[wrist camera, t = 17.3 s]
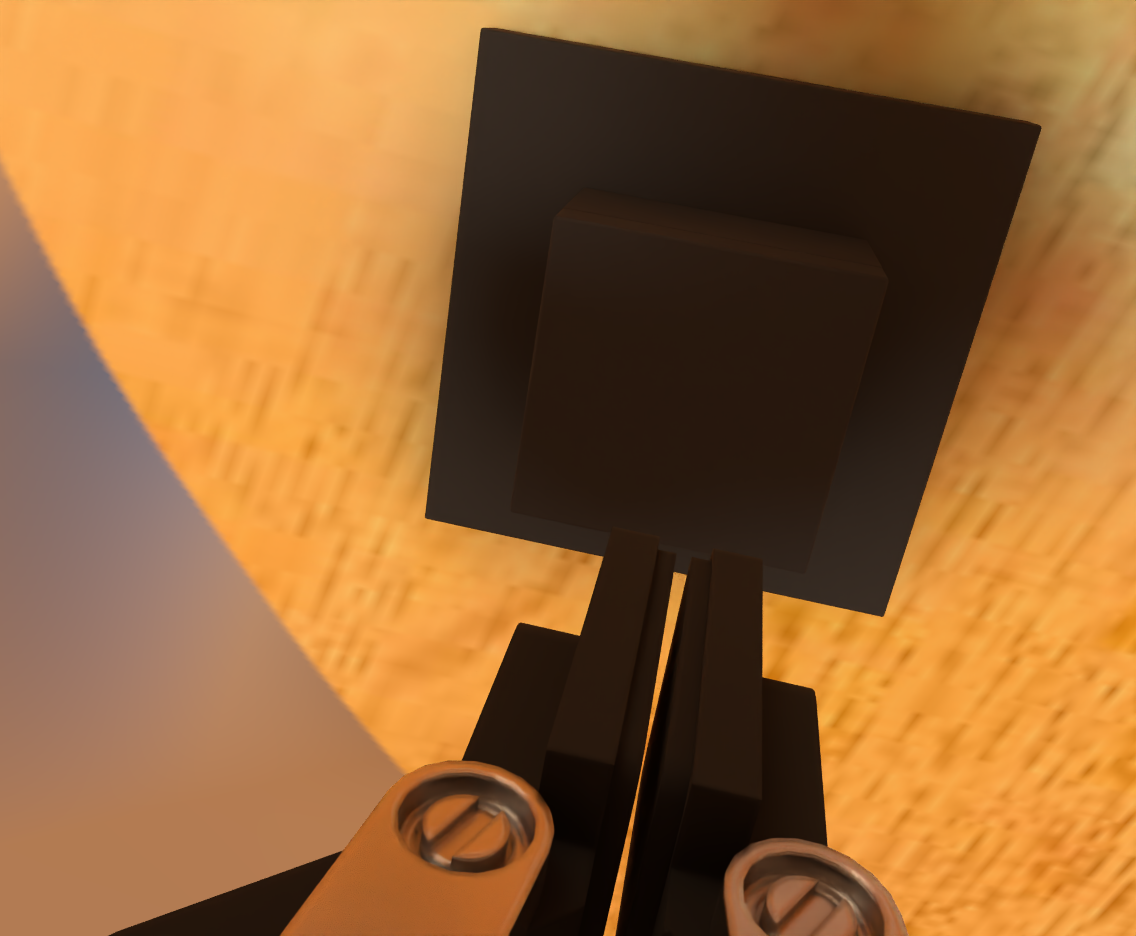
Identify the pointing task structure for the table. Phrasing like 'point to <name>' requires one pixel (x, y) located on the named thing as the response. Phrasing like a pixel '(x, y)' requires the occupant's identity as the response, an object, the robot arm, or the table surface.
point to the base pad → (742, 188)
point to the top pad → (694, 375)
